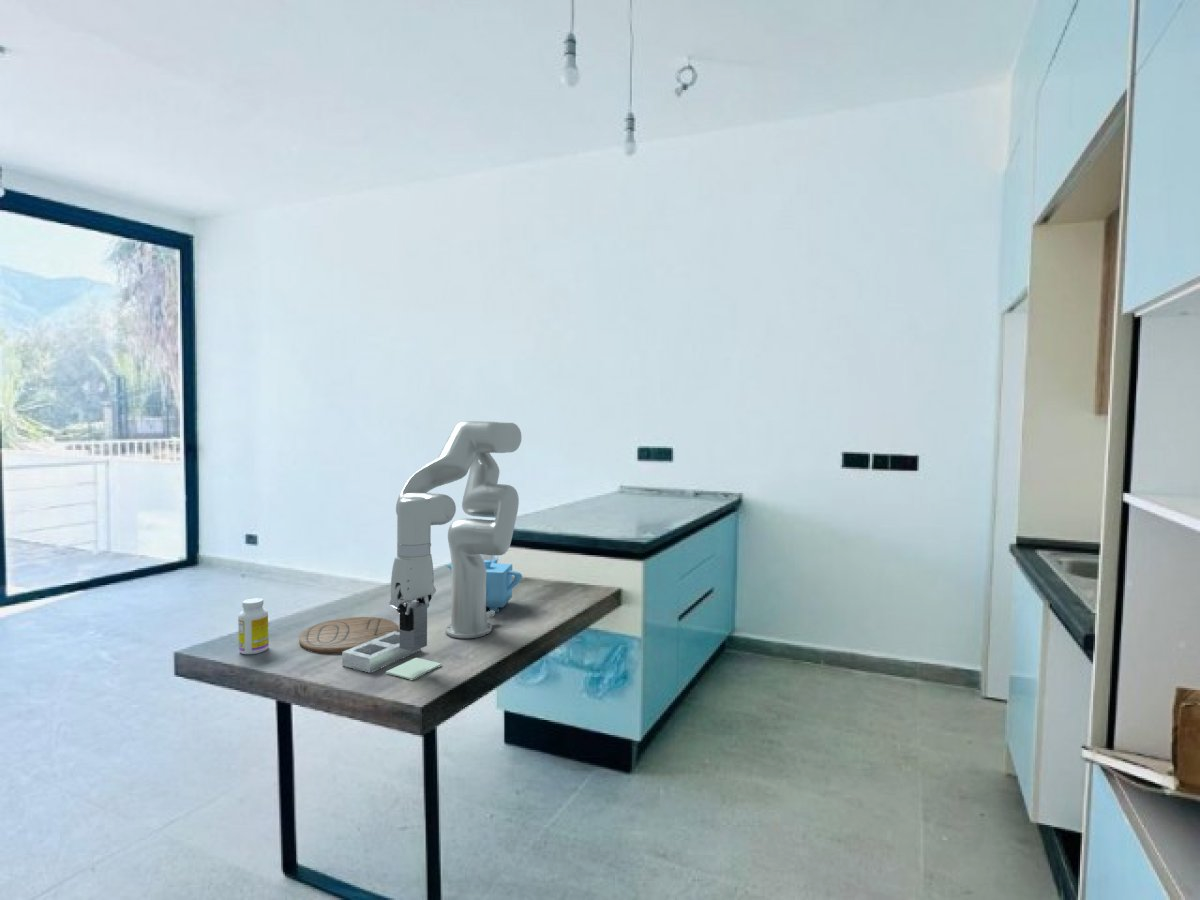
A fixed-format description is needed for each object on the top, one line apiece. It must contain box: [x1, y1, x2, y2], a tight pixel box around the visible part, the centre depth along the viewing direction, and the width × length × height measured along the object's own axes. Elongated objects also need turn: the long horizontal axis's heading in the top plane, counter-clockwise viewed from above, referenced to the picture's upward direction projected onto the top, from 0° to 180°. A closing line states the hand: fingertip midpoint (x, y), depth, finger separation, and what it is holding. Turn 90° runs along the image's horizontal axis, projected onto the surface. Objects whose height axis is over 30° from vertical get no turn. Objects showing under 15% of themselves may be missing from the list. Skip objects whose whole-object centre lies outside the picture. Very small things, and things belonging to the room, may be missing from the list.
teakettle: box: [444, 557, 523, 612], centre depth 204 cm, size 19×19×15 cm
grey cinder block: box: [341, 631, 422, 674], centre depth 160 cm, size 17×9×4 cm, turn 153°
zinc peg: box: [399, 600, 428, 651], centre depth 153 cm, size 4×4×10 cm
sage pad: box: [385, 657, 442, 679], centre depth 153 cm, size 10×8×1 cm
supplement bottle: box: [237, 597, 269, 655], centre depth 164 cm, size 7×7×13 cm
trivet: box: [298, 616, 399, 654], centre depth 175 cm, size 25×25×2 cm
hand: (413, 626), depth 153 cm, fingers closed on zinc peg, 4 cm apart
